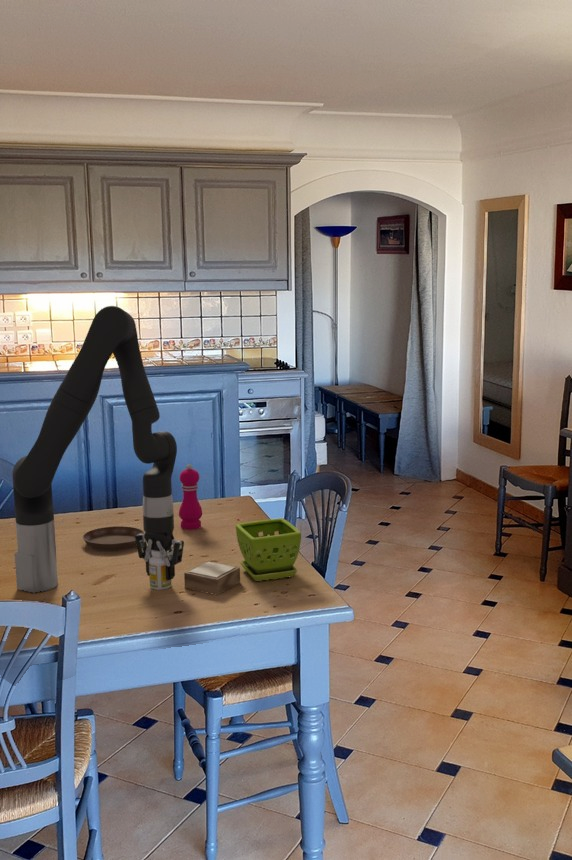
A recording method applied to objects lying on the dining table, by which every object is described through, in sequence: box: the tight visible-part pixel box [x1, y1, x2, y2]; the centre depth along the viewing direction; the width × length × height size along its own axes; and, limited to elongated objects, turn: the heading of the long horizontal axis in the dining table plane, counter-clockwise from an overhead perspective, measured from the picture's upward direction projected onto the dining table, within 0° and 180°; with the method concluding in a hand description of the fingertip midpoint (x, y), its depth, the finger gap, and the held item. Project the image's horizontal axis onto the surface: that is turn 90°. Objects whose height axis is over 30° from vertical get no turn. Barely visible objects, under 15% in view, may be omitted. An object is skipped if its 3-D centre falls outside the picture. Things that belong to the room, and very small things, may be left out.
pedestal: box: [183, 560, 241, 595], centre depth 217 cm, size 10×10×4 cm
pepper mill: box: [178, 463, 203, 531], centre depth 266 cm, size 7×7×20 cm
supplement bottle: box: [149, 550, 172, 591], centre depth 216 cm, size 5×5×10 cm
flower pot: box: [235, 518, 302, 582], centre depth 224 cm, size 14×14×13 cm
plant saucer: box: [82, 525, 145, 552], centre depth 252 cm, size 18×18×3 cm
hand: (160, 576), depth 217 cm, fingers closed on supplement bottle, 5 cm apart
